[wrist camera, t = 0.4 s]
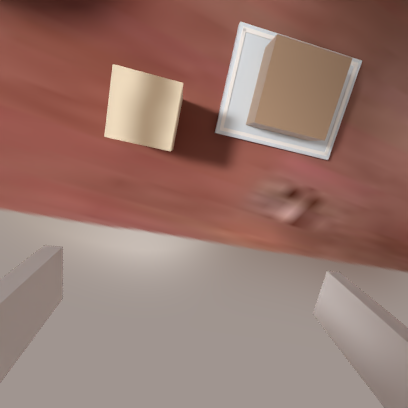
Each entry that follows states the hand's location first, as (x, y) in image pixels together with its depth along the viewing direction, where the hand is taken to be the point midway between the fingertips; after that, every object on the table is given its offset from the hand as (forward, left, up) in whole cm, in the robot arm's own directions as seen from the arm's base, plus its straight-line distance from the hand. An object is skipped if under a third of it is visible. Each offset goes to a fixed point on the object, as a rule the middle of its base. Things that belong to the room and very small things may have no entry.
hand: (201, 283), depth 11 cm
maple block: (-11, +1, -25) cm, 27 cm away
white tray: (-5, +19, -25) cm, 32 cm away
